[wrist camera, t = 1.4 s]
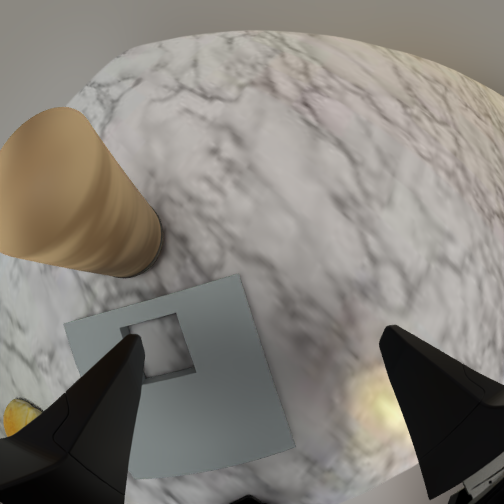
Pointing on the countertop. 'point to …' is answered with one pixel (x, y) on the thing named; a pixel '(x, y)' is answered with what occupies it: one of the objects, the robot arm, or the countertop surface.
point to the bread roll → (18, 416)
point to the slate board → (196, 383)
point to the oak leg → (72, 200)
